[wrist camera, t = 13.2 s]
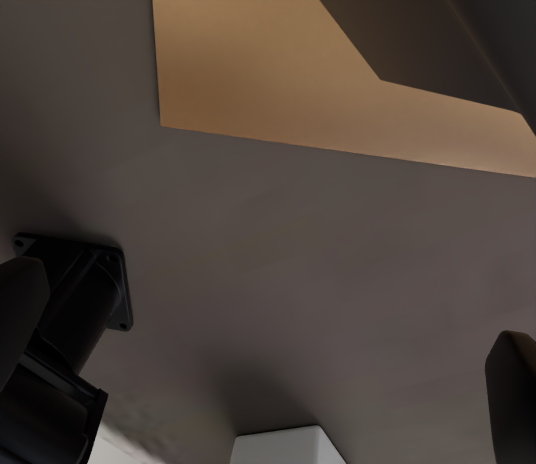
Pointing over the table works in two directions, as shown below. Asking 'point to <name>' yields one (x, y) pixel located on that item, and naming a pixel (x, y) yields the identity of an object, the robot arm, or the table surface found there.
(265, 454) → the medicine bottle
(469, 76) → the phone stand
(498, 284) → the table surface
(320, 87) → the wooden board
